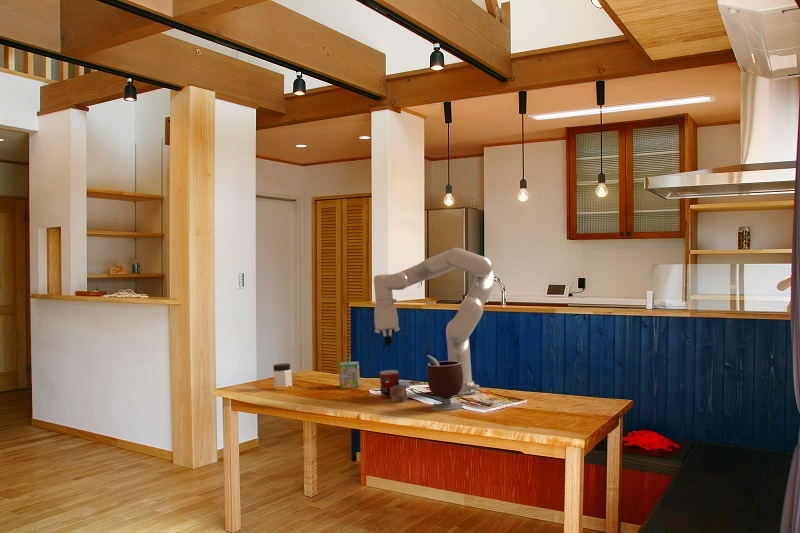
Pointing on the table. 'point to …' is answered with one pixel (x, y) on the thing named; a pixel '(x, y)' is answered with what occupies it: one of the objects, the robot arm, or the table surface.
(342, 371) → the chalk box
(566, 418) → the table surface
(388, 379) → the canned food
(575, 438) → the table surface
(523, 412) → the table surface
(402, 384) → the slate block
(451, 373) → the mate gourd
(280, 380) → the jar
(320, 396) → the table surface
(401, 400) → the walnut block
